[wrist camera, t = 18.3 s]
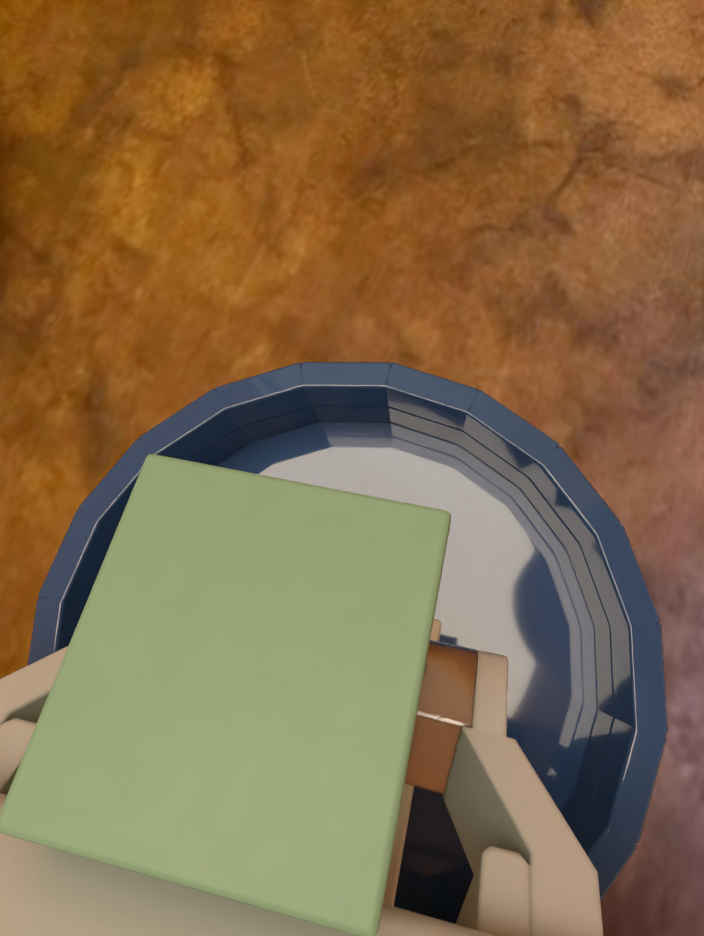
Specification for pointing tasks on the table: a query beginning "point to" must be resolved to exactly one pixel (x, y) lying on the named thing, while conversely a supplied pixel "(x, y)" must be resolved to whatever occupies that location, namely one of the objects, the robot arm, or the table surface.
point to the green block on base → (243, 694)
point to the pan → (448, 579)
